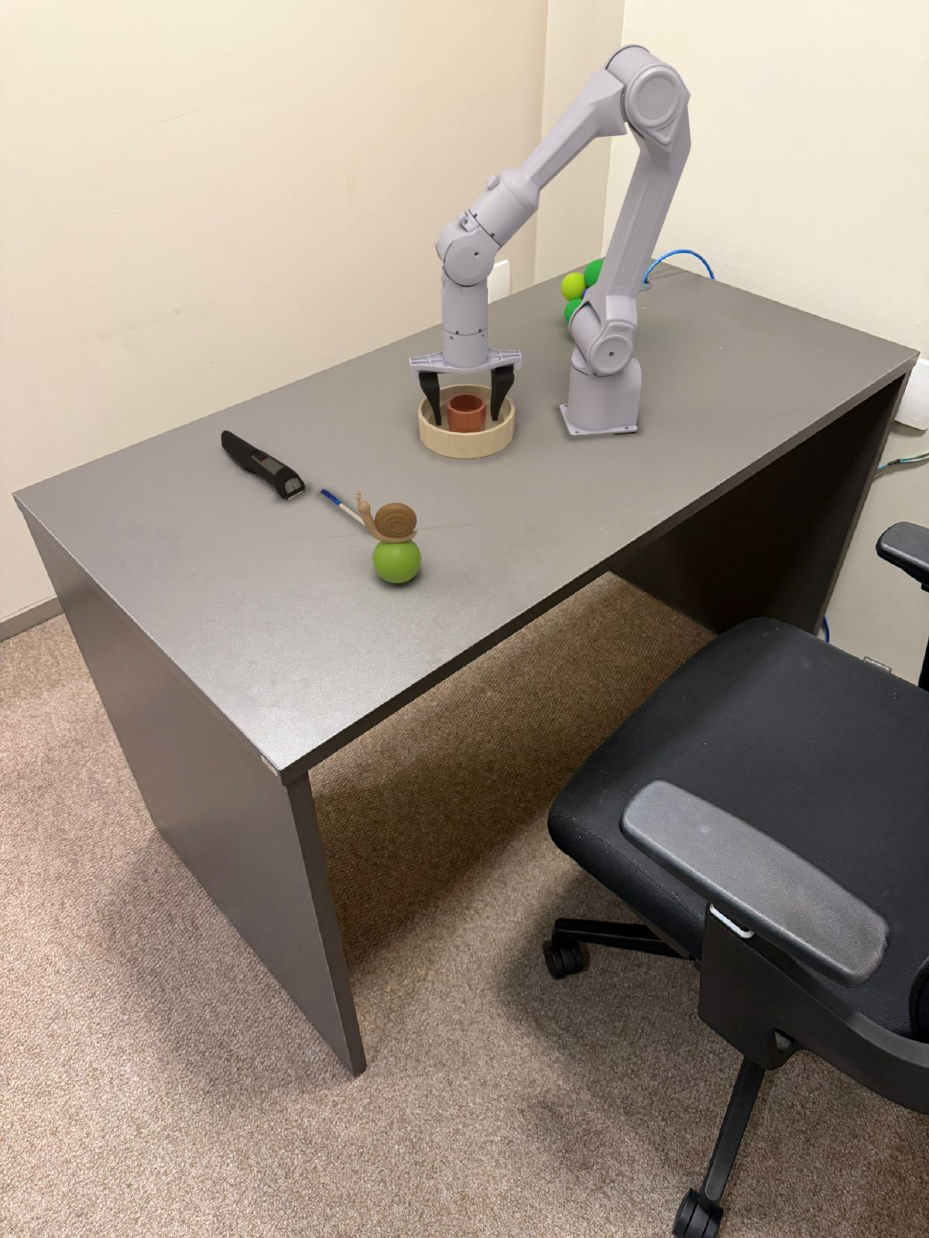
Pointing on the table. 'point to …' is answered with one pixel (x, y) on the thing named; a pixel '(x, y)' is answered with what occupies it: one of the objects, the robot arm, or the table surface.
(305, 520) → the table surface
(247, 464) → the electric trimmer
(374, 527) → the snail figurine
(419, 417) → the cream bowl
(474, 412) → the terracotta pot
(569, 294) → the molecule model
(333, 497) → the ballpoint pen
